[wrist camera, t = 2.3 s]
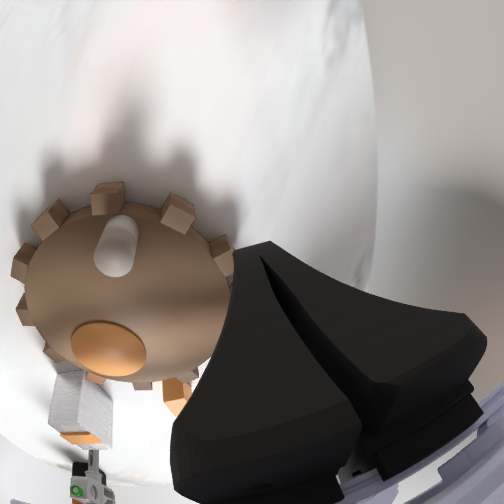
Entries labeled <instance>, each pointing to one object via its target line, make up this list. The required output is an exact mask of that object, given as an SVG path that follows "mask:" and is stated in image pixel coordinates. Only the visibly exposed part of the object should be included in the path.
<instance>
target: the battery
mask: <svg viewBox="0 0 504 504" xmlns="http://www.w3.org/2000/svg"><path fill="white" fill-rule="evenodd" d="M85 471H88V463H77V462H74V463H73V466H72V476H80V477H86V474H85ZM99 473H100V474H102V477H101V484H103V485H105V486H106V475H105V474H104V473H103V472H101V471H100V470H99ZM72 503H73V504H84V503H82V502H80V501H78V500H75V499H73V498H72Z"/></svg>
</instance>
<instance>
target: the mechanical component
mask: <svg viewBox="0 0 504 504" xmlns="http://www.w3.org/2000/svg"><path fill="white" fill-rule="evenodd" d="M85 474H86V477H80V476H72V478H71V486H70V497H71V498H73V499H75V500H78V501H80V502H82V503H84V504H115V496H114V492H113V491H112V489H110V488H108V487H106V486H105V485H103V484H101V477H102V474H100V473H99V450H89V459H88V471H85Z"/></svg>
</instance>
